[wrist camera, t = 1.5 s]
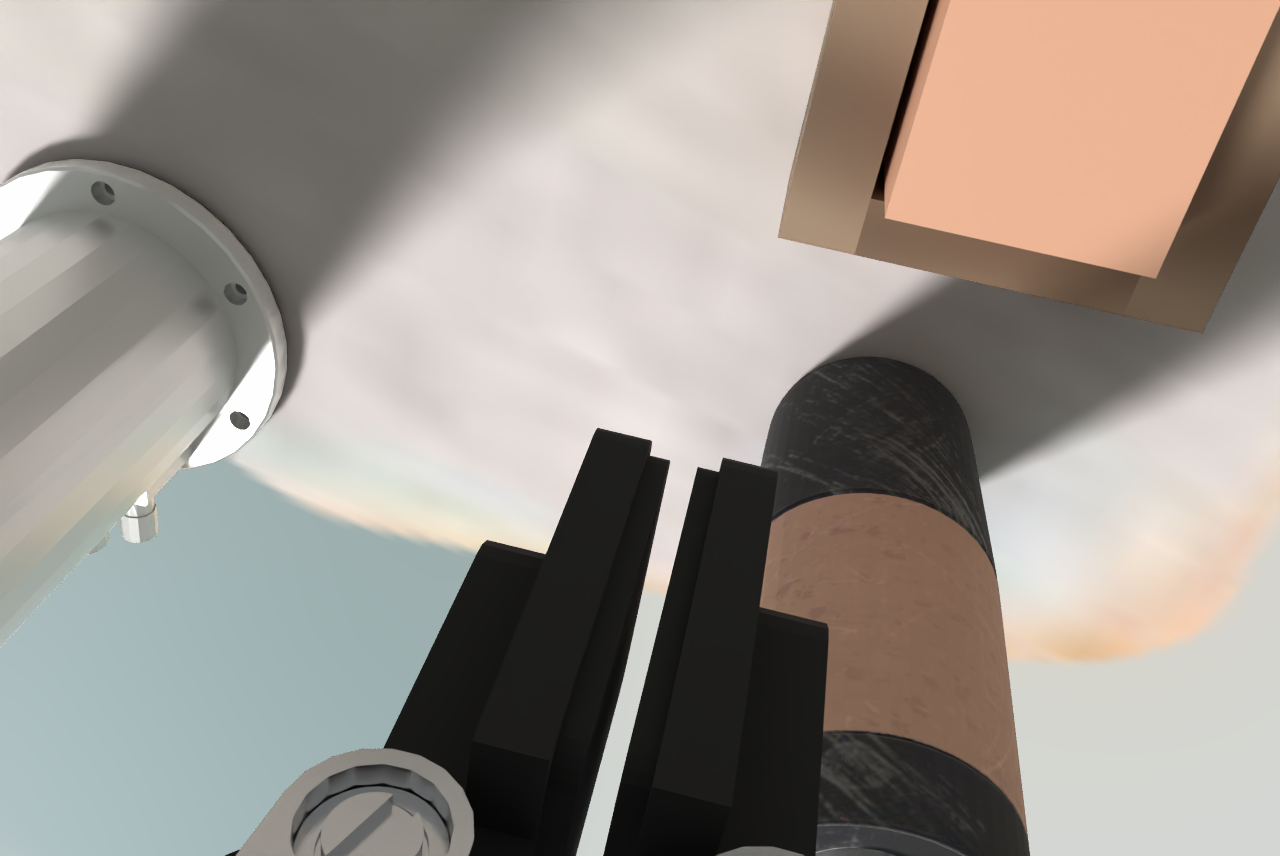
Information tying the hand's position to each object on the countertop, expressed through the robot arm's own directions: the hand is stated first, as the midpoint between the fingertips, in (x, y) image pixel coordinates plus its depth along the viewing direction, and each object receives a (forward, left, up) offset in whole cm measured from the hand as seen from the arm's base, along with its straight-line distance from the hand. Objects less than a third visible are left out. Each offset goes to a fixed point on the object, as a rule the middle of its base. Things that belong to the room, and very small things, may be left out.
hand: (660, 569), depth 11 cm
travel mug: (-15, -6, -27) cm, 31 cm away
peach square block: (0, -7, -25) cm, 26 cm away
